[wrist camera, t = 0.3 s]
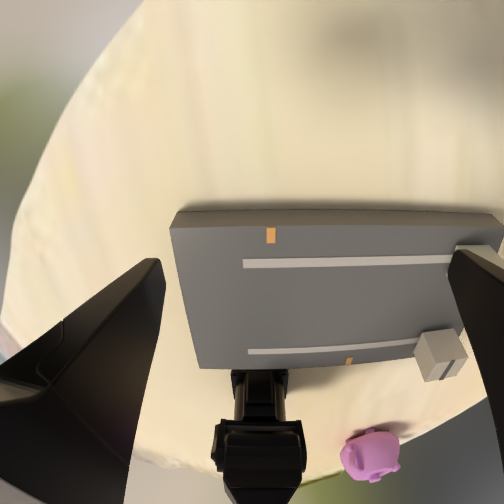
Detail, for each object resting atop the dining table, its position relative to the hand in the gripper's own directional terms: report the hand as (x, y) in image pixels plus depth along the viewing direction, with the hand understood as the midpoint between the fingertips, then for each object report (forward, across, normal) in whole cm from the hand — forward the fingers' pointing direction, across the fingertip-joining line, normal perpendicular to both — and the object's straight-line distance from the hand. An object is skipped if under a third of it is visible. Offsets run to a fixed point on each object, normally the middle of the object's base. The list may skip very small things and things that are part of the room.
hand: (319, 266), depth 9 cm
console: (+14, -6, +13) cm, 20 cm away
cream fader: (+11, -16, +18) cm, 27 cm away
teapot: (+15, -18, +50) cm, 55 cm away
